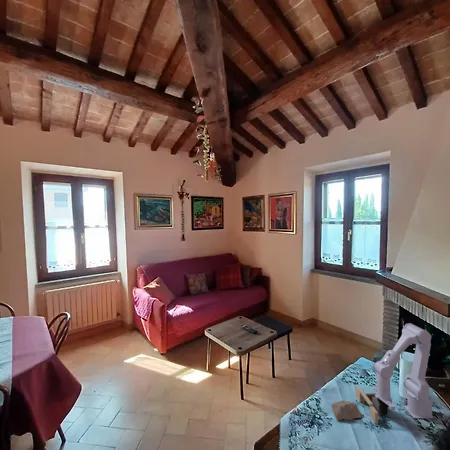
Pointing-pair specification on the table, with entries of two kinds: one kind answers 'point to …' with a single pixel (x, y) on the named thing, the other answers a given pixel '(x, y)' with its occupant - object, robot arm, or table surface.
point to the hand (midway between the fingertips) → (384, 413)
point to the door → (368, 397)
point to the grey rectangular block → (376, 405)
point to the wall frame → (372, 410)
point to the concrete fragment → (345, 410)
